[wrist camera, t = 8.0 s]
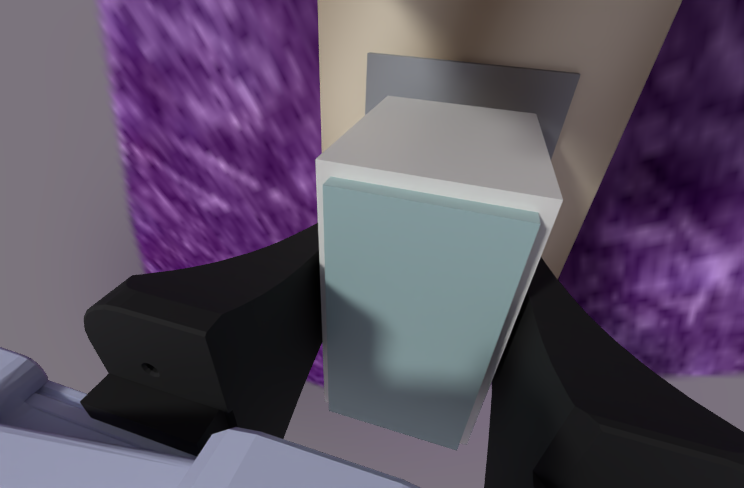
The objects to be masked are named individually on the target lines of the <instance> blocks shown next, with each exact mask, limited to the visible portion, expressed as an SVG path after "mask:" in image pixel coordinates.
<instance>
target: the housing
mask: <svg viewBox="0 0 744 488" xmlns="http://www.w3.org/2000/svg"><path fill="white" fill-rule="evenodd" d="M316 184H317V210H318V236H319V262H320V288H321V315H322V341H323V367H324V393H325V402H327V403H329V411H332V412H335V413H338V414H341V415H344V416H348V417H351V418H354V419H357V420H360V421H364V422H367V423H370V424H374V425H377V426H380V427H383V428H387V429H390V430H393V431H396V432H399V433H403V434H405V435H409V436H412V437H415V438H418V439H422V440H425V441H428V442H431V443H435V444H438V445H441V446H444V447H447V448H451V449H454V450H457V449H458V446H459V443H461V444H464V445H467V443H468V440H469V438H470V435H471V433H472V430H473V427H474V425H475V423H476V420H477V417H478V415H479V412H480V410H481V407H482V405H483V402H484V400H485V397H486V395H487V392H488V390H489V387H490V385H491V382H492V379H493V377H494V374H495V372H496V369H497V367H498V364H499V362H500V359H501V357H502V354H503V352H504V349H505V346H506V344H507V341H508V339H509V336H510V334H511V331H512V329H513V326H514V324H515V321H516V319H517V316H518V313H519V311H520V308H521V306H522V303H523V301H524V298H525V296H526V293H527V291H528V288H529V285H530V283H531V280H532V278H533V275H534V273H535V270H536V268H537V265H538V263H539V260H540V258H541V255H542V252H543V250H544V247H545V245H546V242H547V240H548V237H549V235H550V232H551V230H552V227H553V225H554V222H555V219H556V217H557V214H558V212H559V209H560V207H561V204H562V202H563V198H562V195H561V192H560V188H559V185H558V182H557V179H556V176H555V172H554V169H553V166H552V163H551V160H550V156H549V153H548V150H547V147H546V143H545V140H544V137H543V134H542V131H541V127H540V124H539V121H538V118H537V115H536V114H534V113H526V112H518V111H510V110H502V109H493V108H485V107H477V106H469V105H461V104H453V103H445V102H436V101H428V100H420V99H412V98H404V97H396V96H387V97H385V98H384V99H383V100H382V101H381V102H380V103H379V104H378V105H376V106H375V107H374V108H373V109H372V110H371V111H370V112H368V113H367V114H366V115H365V116H364V117H363V118H362V119H361V120H359V121H358V122H357V123H356V124H355V125H354V126H353V127H351V128H350V129H349V130H348V131H347V132H346V133H345V134H344V135H342V136H341V137H340V138H339V139H338V140H337V141H336V142H334V143H333V144H332V145H331V146H330V147H329V148H328V149H326V150H325V151H324V152H323V153H322V154H321V155H320V156H319V157H317V158H316Z"/></svg>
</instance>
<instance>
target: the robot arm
mask: <svg viewBox="0 0 744 488" xmlns="http://www.w3.org/2000/svg"><path fill="white" fill-rule="evenodd" d="M84 327H85V331H86V333H87V336H88V338H89V340H90V342H91V343H92V345H93V347H94V349H95V350H96V352H97V354H98V356H99V357H100V359H101V361H102V362H103V364H104V366H105V367H106V369H107V371H108V373H109V374H108V375H107V376H106V377H105V378H104V379H103V380H102V381H101V382H100V383H99V384H98V385H97V386H96V387H95V388H93V389H92V390H91V391H90V392H89V393H88V394H86V393H83V392H81V391H78V390H74V389H72V388H69V387H66V386H64V385H61V384H58V383H55V382H52V381H49V380H48V377H47V375H46V373H45V372H44V370H43V369H42V368H41V366H40V365H38V363H37V362H35V361H34V360H32V359H31V358H29V357H27V356H25V355H22V354H19V353H16V352H13V351H11V350H8V349H4V348H2V347H0V488H420V487H418V486H416V485H414V484H411V483H410V482H407V481H405V480H403V479H400V478H397V477H394V476H391V475H388V474H385V473H382V472H379V471H376V470H373V469H371V468H368V467H365V466H361V465H358V464H356V463H352V462H349V461H347V460H344V459H341V458H338V457H335V456H332V455H329V454H326V453H323V452H320V451H317V450H314V449H311V448H308V447H305V446H302V445H299V444H296V443H293V442H290V441H287V440H284V439H283V438H284V436H285V433H286V430H287V428H288V425H289V422H290V420H291V417H292V414H293V412H294V409H295V407H296V404H297V401H298V399H299V396H300V394H301V391H302V389H303V386H304V384H305V381H306V379H307V377H308V374H309V372H310V369H311V367H312V365H313V362H314V360H315V358H316V355H317V353H318V351H319V348H320V346H321V344H322V342H323V341H322V315H321V288H320V262H319V236H318V223H317V224H315V225H313V226H311V227H309V228H307V229H305V230H303V231H301V232H299V233H297V234H295V235H293V236H291V237H289V238H286V239H284V240H282V241H280V242H277V243H275V244H273V245H270V246H267V247H265V248H262V249H259V250H256V251H254V252H251V253H247V254H244V255H240V256H237V257H233V258H230V259H226V260H223V261H219V262H215V263H210V264H206V265H201V266H196V267H191V268H185V269H179V270H173V271H165V272H157V273H149V274H142V275H132V276H131V277H129V278H128V279H127V280H126V281H124V282H123V283H121V284H120V285H119V286H118V287H116V288H115V289H114V290H112V291H111V292H110V293H108V294H107V295H106V296H105V297H103V298H102V299H101V300H99V301H98V302H97V303H95V304H94V305H93V306H91V307H90V308H89V309H88V310H87V311H86V314H85V316H84ZM484 488H744V432H743V431H741V430H740V429H738V428H736V427H735V426H733V425H731V424H730V423H728V422H727V421H725V420H724V419H722V418H721V417H719V416H717V415H716V414H714V413H713V412H711V411H709V410H708V409H706V408H705V407H703V406H701V405H700V404H698V403H697V402H695V401H694V400H692V399H691V398H689V397H688V396H686V395H685V394H684V393H682V392H681V391H679V390H678V389H676V388H675V387H673V386H672V385H671V384H669V383H668V382H667V381H665V380H664V379H662V378H661V377H660V376H658V375H657V374H656V373H654V372H653V371H652V370H651V369H649V368H648V367H647V366H645V365H644V364H643V363H641V362H640V361H639V360H638V359H637V358H635V357H634V356H633V355H632V354H630V353H629V352H628V351H627V350H626V349H624V348H623V347H622V346H621V345H620V344H618V343H617V342H616V341H615V340H614V339H613V338H612V337H611V336H609V335H608V334H607V333H606V332H605V331H604V330H603V329H602V328H601V327H600V326H599V325H598V324H597V323H596V322H595V321H594V320H593V319H592V318H591V317H590V316H589V315H588V314H587V313H586V312H585V311H584V310H583V309H582V308H581V307H580V306H579V304H578V303H577V302H576V301H575V300H574V299H573V298H572V296H571V295H570V294H569V293H568V292H567V291H566V289H565V288H564V287H563V286H562V284H561V283H560V282H559V281H558V279H557V278H556V277H555V275H554V274H553V273H552V271H551V270H550V268H549V267H548V266H547V264H546V263H545V261H544V260H543V259H542V257H541V258H540V260H539V263H538V265H537V268H536V270H535V273H534V275H533V278H532V280H531V283H530V285H529V288H528V291H527V293H526V296H525V298H524V301H523V303H522V306H521V308H520V311H519V313H518V316H517V319H516V321H515V324H514V326H513V329H512V331H511V334H510V336H509V339H508V341H507V344H506V346H505V349H504V352H503V354H502V357H501V359H500V362H499V364H498V367H497V369H496V372H495V374H494V377H493V379H492V400H491V414H490V428H489V441H488V452H487V464H486V474H485V485H484Z"/></svg>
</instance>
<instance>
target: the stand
mask: <svg viewBox="0 0 744 488" xmlns="http://www.w3.org/2000/svg"><path fill="white" fill-rule="evenodd" d="M681 2H682V0H318V27H319V63H320V100H321V136H322V153H323V152H324V151H325V150H326V149H328V148H329V147H330V146H331V145H332V144H333V143H334V142H336V141H337V140H338V139H339V138H340V137H341V136H342V135H344V134H345V133H346V132H347V131H348V130H349V129H350V128H351V127H353V126H354V125H355V124H356V123H357V122H358V121H359V120H361V119H362V118H363V117H364V116H365V115H366V114H367V113H368V112H370V111H371V110H372V109H373V108H374V107H375V106H376V105H378V104H379V103H380V102H381V101H382V100H383V99H384V98H385V97H387V96H396V97H404V98H412V99H420V100H428V101H436V102H445V103H453V104H461V105H469V106H477V107H485V108H493V109H502V110H510V111H518V112H526V113H534V114H536V115H537V118H538V121H539V124H540V127H541V131H542V134H543V137H544V140H545V143H546V147H547V150H548V153H549V156H550V160H551V163H552V166H553V169H554V172H555V176H556V179H557V182H558V185H559V188H560V192H561V195H562V198H563V202H562V204H561V207H560V209H559V212H558V214H557V217H556V219H555V222H554V225H553V227H552V230H551V232H550V235H549V237H548V240H547V242H546V245H545V247H544V250H543V252H542V255H541V257H542V259H543V260H544V261H545V263H546V264H547V266H548V267H549V268H550V270H551V271H552V273H553V274H554V275H555V277H556V278H557V279H558V277H559V275H560V273H561V271H562V268H563V266H564V264H565V262H566V260H567V257H568V255H569V253H570V251H571V248H572V246H573V244H574V242H575V239H576V237H577V235H578V233H579V230H580V228H581V226H582V224H583V221H584V219H585V217H586V215H587V213H588V210H589V208H590V206H591V204H592V201H593V199H594V197H595V195H596V192H597V190H598V188H599V186H600V183H601V181H602V179H603V177H604V174H605V172H606V170H607V168H608V166H609V163H610V161H611V159H612V157H613V154H614V152H615V150H616V148H617V145H618V143H619V141H620V139H621V136H622V134H623V132H624V130H625V127H626V125H627V123H628V121H629V118H630V116H631V114H632V112H633V110H634V107H635V105H636V103H637V101H638V98H639V96H640V94H641V92H642V89H643V87H644V85H645V83H646V80H647V78H648V76H649V74H650V71H651V69H652V67H653V65H654V63H655V60H656V58H657V56H658V54H659V51H660V49H661V47H662V45H663V42H664V40H665V38H666V36H667V33H668V31H669V29H670V27H671V24H672V22H673V20H674V18H675V16H676V13H677V11H678V9H679V7H680V4H681Z"/></svg>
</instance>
